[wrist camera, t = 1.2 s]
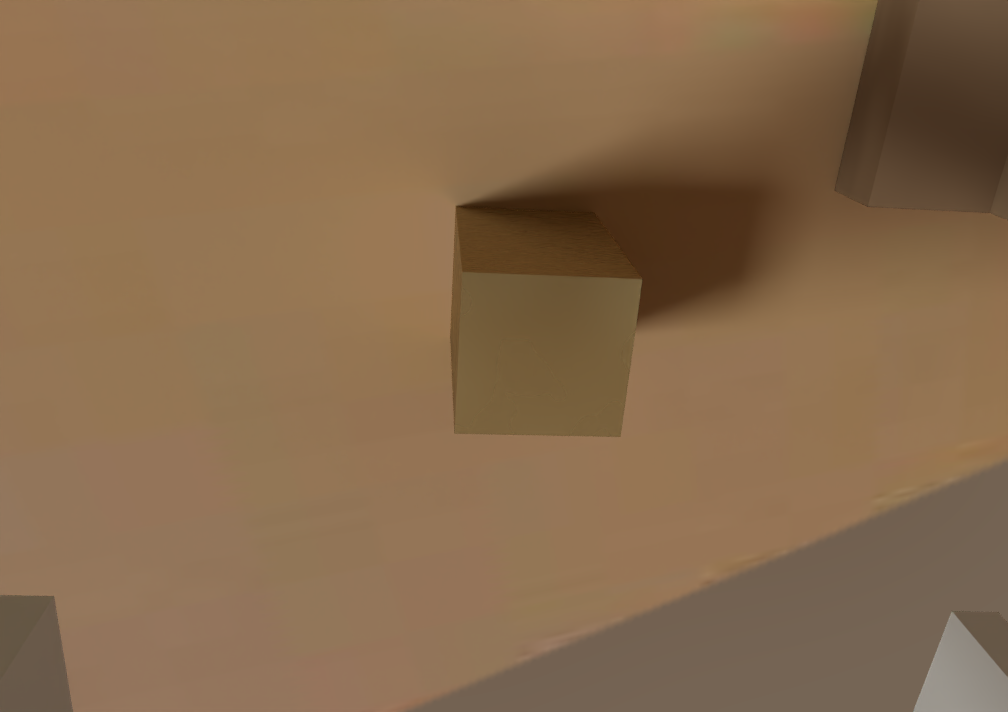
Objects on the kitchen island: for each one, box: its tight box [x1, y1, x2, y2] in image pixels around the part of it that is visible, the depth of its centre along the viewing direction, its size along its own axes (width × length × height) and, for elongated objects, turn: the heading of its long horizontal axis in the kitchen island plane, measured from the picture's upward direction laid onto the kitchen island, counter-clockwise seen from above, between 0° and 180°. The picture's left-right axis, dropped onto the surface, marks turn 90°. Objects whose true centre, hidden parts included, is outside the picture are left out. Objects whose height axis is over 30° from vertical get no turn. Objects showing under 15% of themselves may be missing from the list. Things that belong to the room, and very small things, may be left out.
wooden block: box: [450, 206, 643, 437], centre depth 21 cm, size 4×4×6 cm
